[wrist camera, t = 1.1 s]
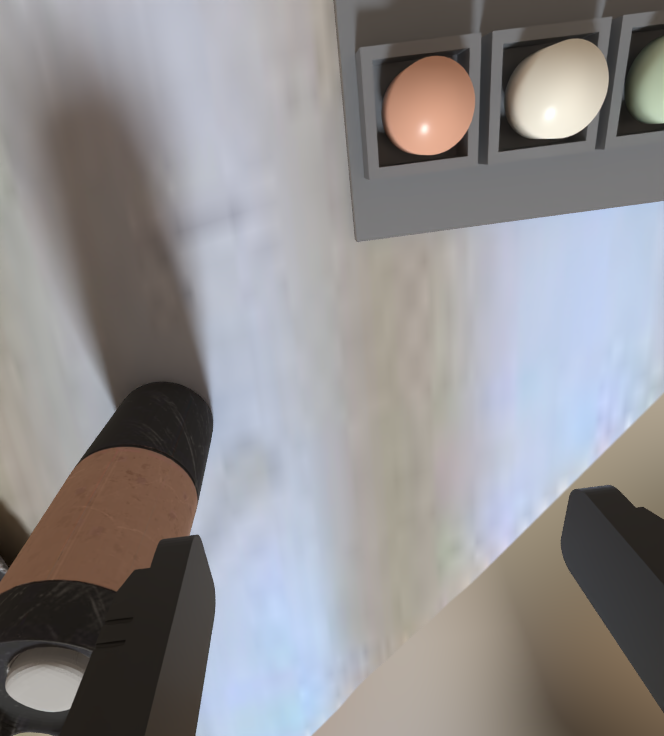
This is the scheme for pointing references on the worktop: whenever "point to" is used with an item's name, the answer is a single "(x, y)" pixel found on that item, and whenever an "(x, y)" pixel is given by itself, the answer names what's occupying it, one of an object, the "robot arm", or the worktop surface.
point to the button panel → (492, 114)
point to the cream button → (557, 90)
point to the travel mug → (96, 548)
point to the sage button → (647, 84)
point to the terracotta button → (428, 106)
